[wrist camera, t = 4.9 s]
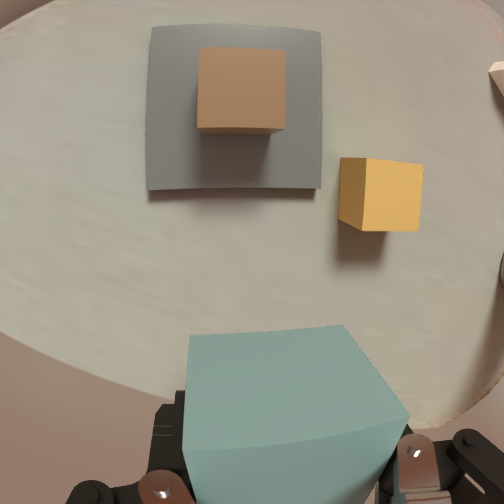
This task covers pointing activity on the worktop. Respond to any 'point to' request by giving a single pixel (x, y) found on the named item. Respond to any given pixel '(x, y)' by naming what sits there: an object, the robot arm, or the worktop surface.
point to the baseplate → (230, 151)
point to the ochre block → (380, 194)
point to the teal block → (286, 418)
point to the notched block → (498, 75)
